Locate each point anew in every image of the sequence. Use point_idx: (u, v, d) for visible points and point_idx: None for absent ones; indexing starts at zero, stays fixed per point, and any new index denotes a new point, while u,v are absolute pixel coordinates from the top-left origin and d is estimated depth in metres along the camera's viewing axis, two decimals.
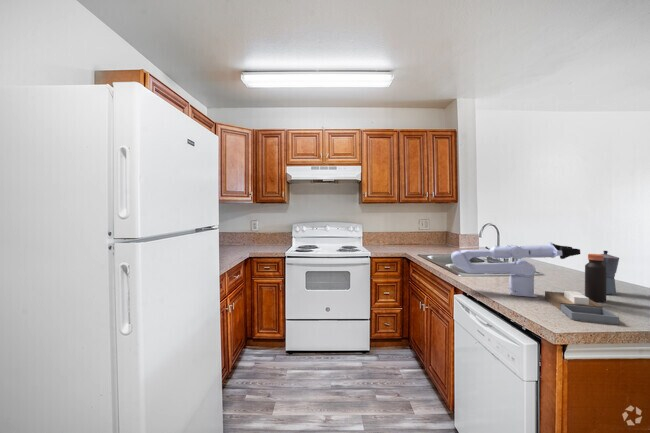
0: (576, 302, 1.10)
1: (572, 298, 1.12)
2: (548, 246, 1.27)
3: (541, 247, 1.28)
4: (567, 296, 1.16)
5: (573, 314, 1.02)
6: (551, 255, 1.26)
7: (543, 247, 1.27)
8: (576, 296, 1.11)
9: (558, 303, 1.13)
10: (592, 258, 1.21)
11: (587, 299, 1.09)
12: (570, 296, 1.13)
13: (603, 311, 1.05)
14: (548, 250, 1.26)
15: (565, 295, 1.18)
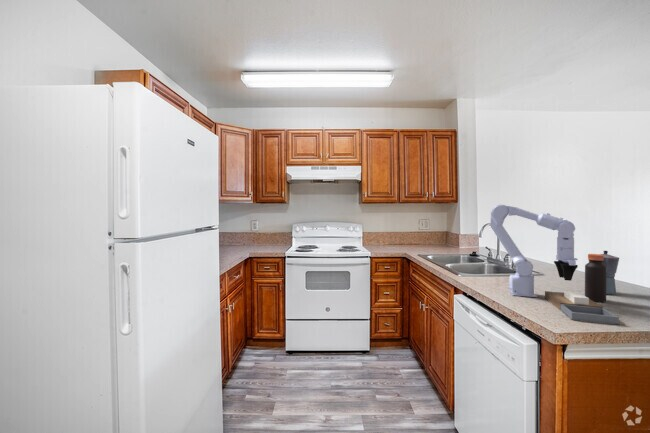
0: (576, 302, 1.10)
1: (572, 298, 1.12)
2: (573, 256, 1.21)
3: (573, 250, 1.20)
4: (567, 296, 1.16)
5: (573, 314, 1.02)
6: (562, 257, 1.22)
7: (573, 251, 1.20)
8: (576, 296, 1.11)
9: (558, 303, 1.13)
10: (592, 258, 1.21)
11: (587, 299, 1.09)
12: (570, 296, 1.13)
13: (603, 311, 1.05)
14: (569, 255, 1.20)
15: (565, 295, 1.18)
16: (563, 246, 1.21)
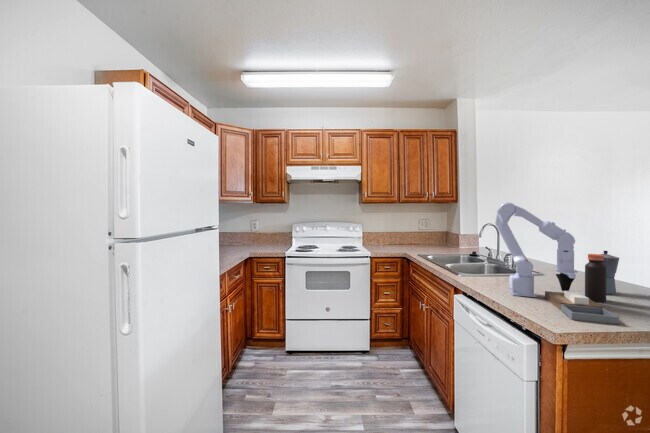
0: (576, 302, 1.10)
1: (572, 298, 1.12)
2: (573, 268, 1.21)
3: (573, 262, 1.21)
4: (567, 296, 1.16)
5: (573, 314, 1.02)
6: (562, 269, 1.22)
7: (573, 264, 1.20)
8: (576, 296, 1.11)
9: (558, 303, 1.13)
10: (592, 258, 1.21)
11: (587, 299, 1.09)
12: (570, 296, 1.13)
13: (603, 311, 1.05)
14: (569, 267, 1.20)
15: (565, 295, 1.18)
16: (563, 258, 1.21)
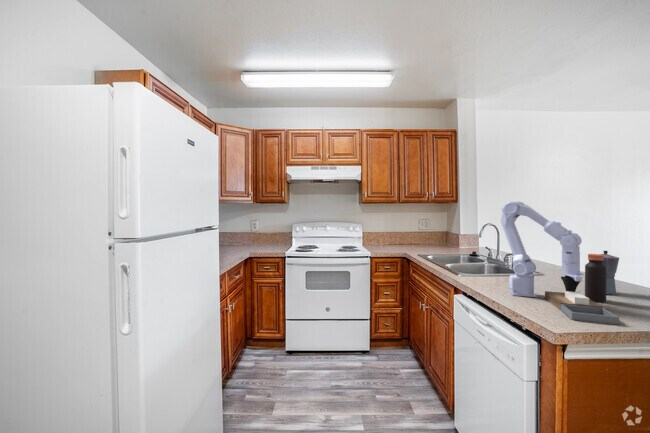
0: (576, 302, 1.10)
1: (572, 298, 1.11)
2: (579, 271, 1.16)
3: (578, 264, 1.16)
4: (568, 297, 1.15)
5: (573, 314, 1.02)
6: (568, 272, 1.17)
7: (578, 266, 1.16)
8: (576, 296, 1.10)
9: (558, 303, 1.13)
10: (592, 258, 1.21)
11: (587, 299, 1.08)
12: (570, 296, 1.13)
13: (603, 311, 1.05)
14: (575, 270, 1.15)
15: (566, 295, 1.17)
16: (566, 260, 1.17)
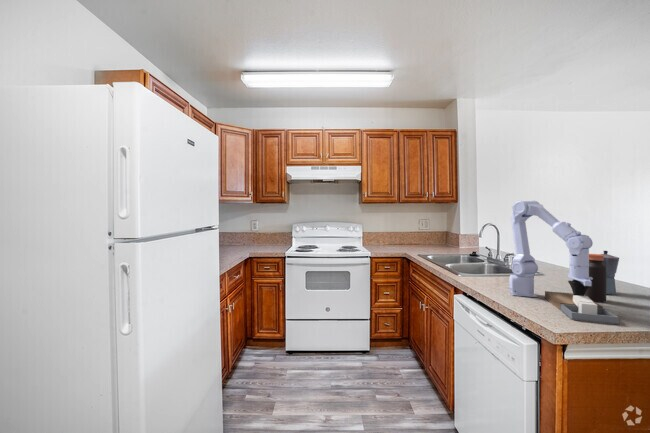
0: None
1: (580, 310, 1.05)
2: (588, 275, 1.09)
3: (587, 268, 1.09)
4: (576, 303, 1.08)
5: (573, 314, 1.02)
6: (576, 276, 1.10)
7: (587, 270, 1.09)
8: None
9: (558, 303, 1.13)
10: (592, 258, 1.21)
11: None
12: (580, 306, 1.05)
13: (603, 311, 1.05)
14: (584, 273, 1.09)
15: (574, 300, 1.10)
16: (572, 263, 1.11)
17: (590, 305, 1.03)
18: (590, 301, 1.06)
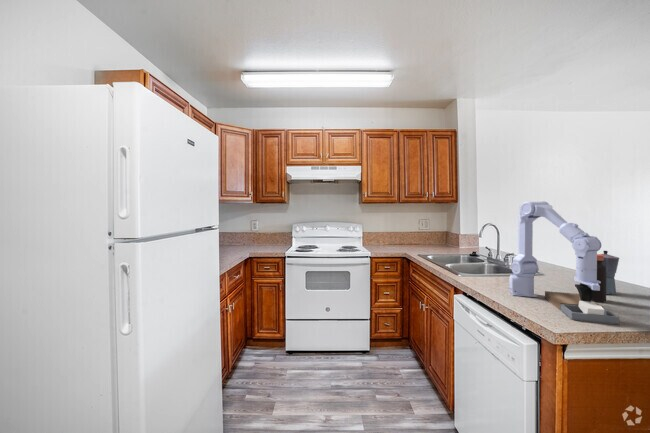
0: None
1: None
2: (596, 278, 1.04)
3: (595, 271, 1.03)
4: (582, 309, 1.04)
5: (573, 314, 1.02)
6: (583, 280, 1.05)
7: (595, 273, 1.03)
8: None
9: (558, 303, 1.13)
10: None
11: None
12: (586, 309, 1.01)
13: None
14: (591, 277, 1.03)
15: (580, 306, 1.05)
16: (578, 266, 1.06)
17: (597, 310, 0.99)
18: None
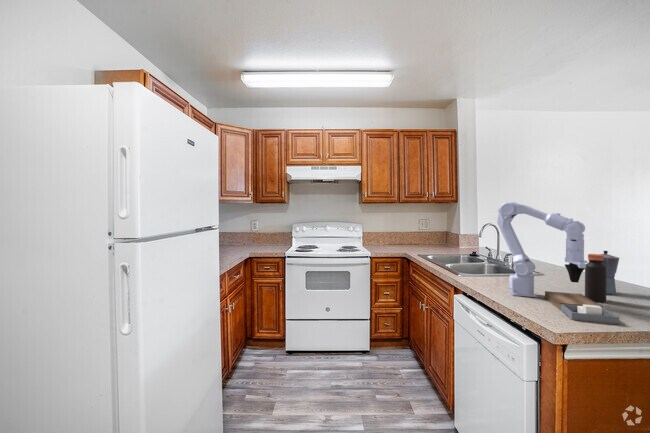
0: None
1: None
2: (583, 258, 1.16)
3: (583, 252, 1.16)
4: (581, 312, 1.05)
5: (573, 314, 1.02)
6: (572, 259, 1.17)
7: (583, 253, 1.16)
8: None
9: (558, 303, 1.13)
10: (592, 258, 1.21)
11: None
12: (585, 308, 1.02)
13: (603, 311, 1.05)
14: (579, 257, 1.16)
15: (579, 310, 1.07)
16: (571, 248, 1.17)
17: (595, 308, 1.00)
18: None
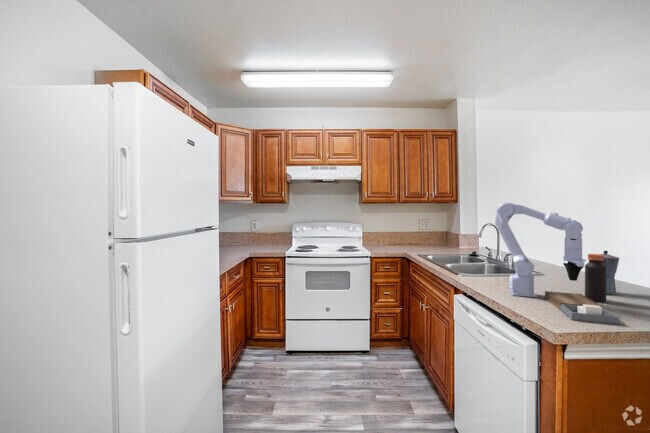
0: None
1: None
2: (581, 257, 1.18)
3: (581, 250, 1.18)
4: (581, 312, 1.05)
5: (573, 314, 1.02)
6: (570, 258, 1.19)
7: (581, 252, 1.18)
8: None
9: (558, 303, 1.13)
10: (592, 258, 1.21)
11: None
12: (585, 308, 1.02)
13: (603, 311, 1.05)
14: (577, 256, 1.18)
15: (579, 310, 1.07)
16: (570, 247, 1.19)
17: (595, 308, 1.00)
18: None
